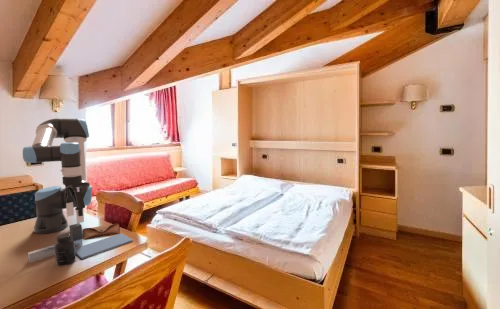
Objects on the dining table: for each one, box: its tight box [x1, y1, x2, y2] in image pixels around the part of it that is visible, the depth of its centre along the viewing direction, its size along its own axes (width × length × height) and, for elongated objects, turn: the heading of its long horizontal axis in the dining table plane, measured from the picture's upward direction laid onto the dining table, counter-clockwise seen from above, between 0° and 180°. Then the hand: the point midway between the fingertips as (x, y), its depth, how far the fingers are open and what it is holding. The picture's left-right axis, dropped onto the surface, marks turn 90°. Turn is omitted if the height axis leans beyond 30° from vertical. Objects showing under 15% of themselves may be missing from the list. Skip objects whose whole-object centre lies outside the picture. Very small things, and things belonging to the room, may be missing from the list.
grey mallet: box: [27, 223, 84, 263], centre depth 118 cm, size 4×20×11 cm, turn 141°
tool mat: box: [75, 232, 134, 260], centre depth 126 cm, size 12×23×1 cm, turn 141°
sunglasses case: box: [82, 223, 121, 241], centre depth 140 cm, size 18×7×7 cm, turn 122°
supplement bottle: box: [54, 233, 77, 267], centre depth 111 cm, size 7×7×12 cm
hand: (75, 218), depth 123 cm, fingers open, 13 cm apart
